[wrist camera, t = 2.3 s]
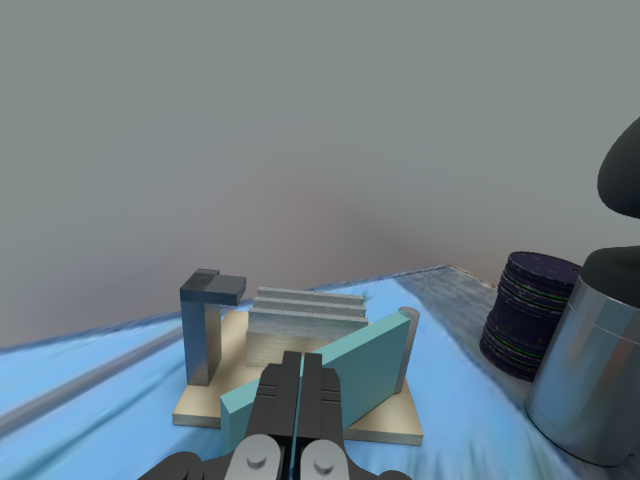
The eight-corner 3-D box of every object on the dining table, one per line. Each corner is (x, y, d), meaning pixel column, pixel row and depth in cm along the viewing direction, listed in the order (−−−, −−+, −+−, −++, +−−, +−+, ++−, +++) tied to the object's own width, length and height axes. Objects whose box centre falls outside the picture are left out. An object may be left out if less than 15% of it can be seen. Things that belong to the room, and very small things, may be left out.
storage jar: (490, 373, 41) (526, 275, 36) (470, 330, 50) (497, 246, 45) (570, 390, 40) (620, 290, 34) (536, 342, 49) (571, 257, 43)
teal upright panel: (391, 375, 37) (406, 304, 33) (405, 387, 35) (423, 314, 32) (221, 489, 24) (218, 393, 20) (233, 516, 22) (231, 417, 19)
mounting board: (387, 332, 47) (388, 324, 47) (420, 445, 31) (423, 435, 30) (228, 318, 47) (228, 310, 47) (173, 424, 30) (172, 413, 30)
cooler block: (355, 333, 44) (367, 258, 40) (364, 400, 33) (382, 307, 29) (221, 321, 44) (219, 245, 40) (187, 385, 33) (179, 289, 29)
